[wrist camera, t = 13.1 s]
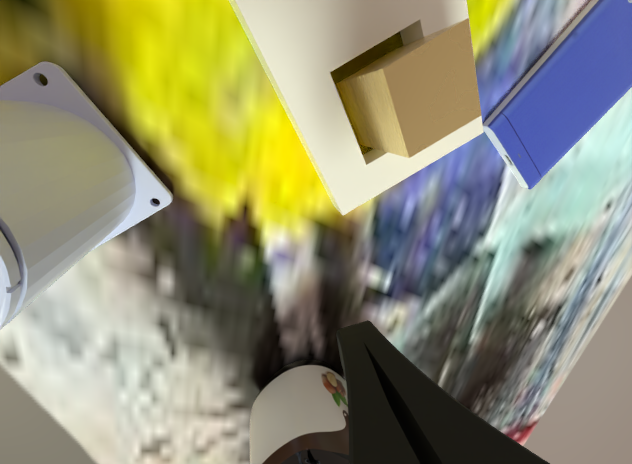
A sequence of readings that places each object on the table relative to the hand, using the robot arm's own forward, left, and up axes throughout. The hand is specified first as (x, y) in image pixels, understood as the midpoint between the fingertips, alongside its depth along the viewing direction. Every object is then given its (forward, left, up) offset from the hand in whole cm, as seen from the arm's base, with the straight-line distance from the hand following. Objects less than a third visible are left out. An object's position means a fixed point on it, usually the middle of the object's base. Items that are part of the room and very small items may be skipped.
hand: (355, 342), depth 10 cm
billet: (+9, +6, -10) cm, 15 cm away
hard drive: (+23, -1, -11) cm, 26 cm away
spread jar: (-7, -15, -11) cm, 20 cm away
